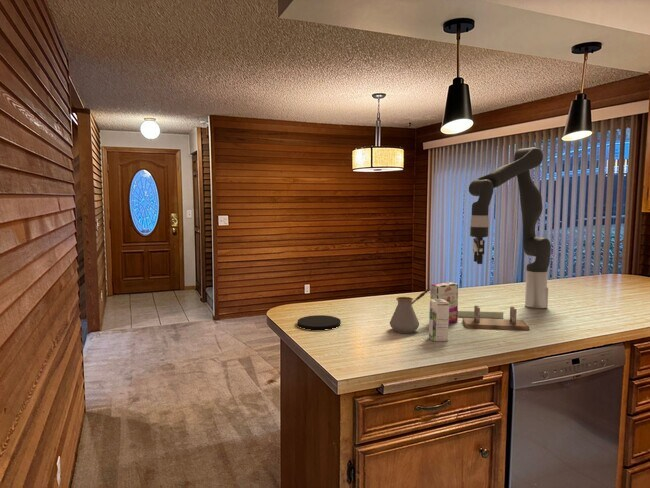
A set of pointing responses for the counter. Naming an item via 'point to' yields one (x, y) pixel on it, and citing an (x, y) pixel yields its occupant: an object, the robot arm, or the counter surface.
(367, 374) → the counter surface
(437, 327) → the syrup box
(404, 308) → the coffee pot
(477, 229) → the robot arm
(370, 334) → the counter surface
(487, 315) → the shelf board
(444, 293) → the candy bar box
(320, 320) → the wireless charger
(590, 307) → the counter surface
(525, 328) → the peg rack
